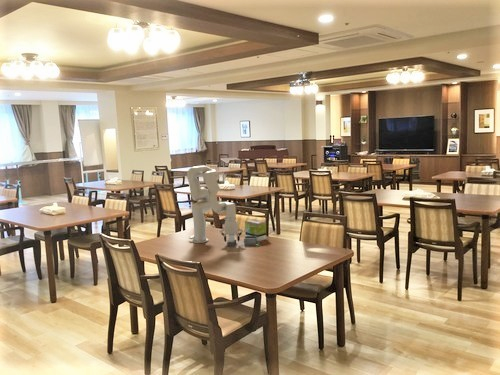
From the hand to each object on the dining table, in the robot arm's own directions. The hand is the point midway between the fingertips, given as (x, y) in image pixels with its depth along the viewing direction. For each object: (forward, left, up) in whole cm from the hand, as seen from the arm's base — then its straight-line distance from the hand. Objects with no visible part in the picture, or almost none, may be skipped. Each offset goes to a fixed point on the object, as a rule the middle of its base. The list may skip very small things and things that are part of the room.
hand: (231, 241), depth 334 cm
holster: (0, 0, -4) cm, 4 cm away
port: (+14, +3, -4) cm, 15 cm away
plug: (0, 0, -3) cm, 3 cm away
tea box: (+17, +21, -4) cm, 27 cm away
